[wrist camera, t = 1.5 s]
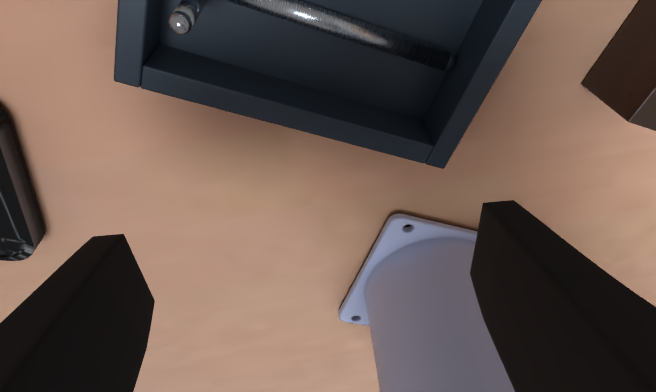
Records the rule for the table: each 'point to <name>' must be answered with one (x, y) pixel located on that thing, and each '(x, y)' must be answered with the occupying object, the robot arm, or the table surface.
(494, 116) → the table surface
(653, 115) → the knife
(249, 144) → the table surface
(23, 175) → the phone
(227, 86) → the drying rack
